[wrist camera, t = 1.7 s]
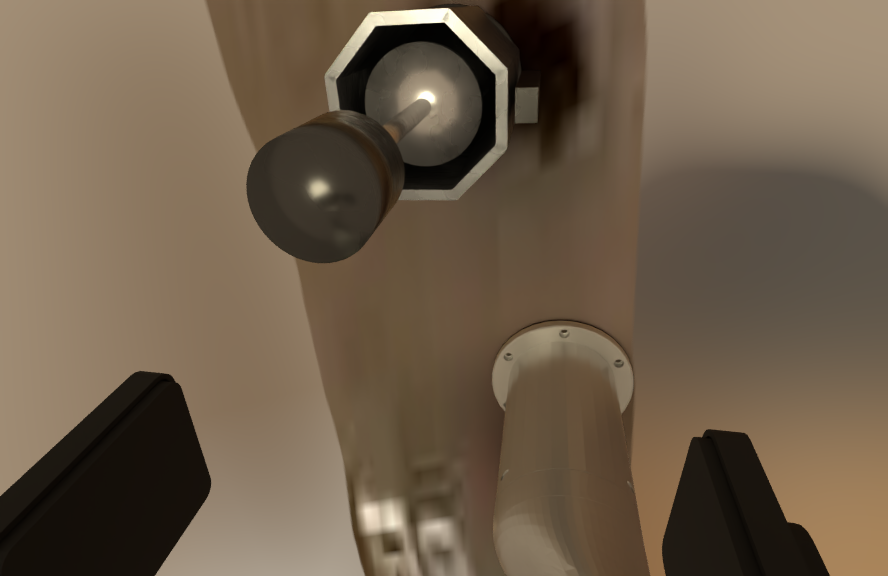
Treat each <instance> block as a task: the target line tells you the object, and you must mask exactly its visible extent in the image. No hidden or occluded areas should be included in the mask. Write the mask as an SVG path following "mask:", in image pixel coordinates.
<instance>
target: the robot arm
mask: <svg viewBox="0 0 888 576" xmlns="http://www.w3.org/2000/svg"><path fill="white" fill-rule="evenodd" d="M492 387H493V391H494V395H495V397H496V399H497V401H498V403H499V405H500V406H501V408H502V409H503V410H504V411H505V417H504V427H503V436H502V445H501V454H500V463H499V473H498V482H497V491H496V500H495V509H494V519H493V539H494V545H495V549H496V553H497V556H498V559H499V562H500V564H501V566H502V568H503V570H504V572H505V574H506V576H650V572H649V567H648V562H647V557H646V553H645V548H644V543H643V537H642V531H641V526H640V520H639V514H638V508H637V502H636V496H635V490H634V485H633V479H632V473H631V467H630V461H629V456H628V450H627V444H626V438H625V432H624V427H623V421H622V415H621V414H622V413H623V412H624V411H625V409H626V408H627V406H628V404H629V402H630V400H631V397H632V393H633V390H634V377H633V372H632V367H631V364H630V362H629V359H628V356H627V355H626V353H625V352H624V350H623V349H622V347H621V346H620V345H619V344H618V343H617V342H616V341H615V340H614V339H613V338H612V337H610V336H609V335H607V334H606V333H604V332H603V331H601V330H599V329H596V328H594V327H592V326H590V325H586V324H582V323H578V322H572V321H548V322H543V323H539V324H535V325H532V326H530V327H527V328H525V329H523V330H521V331H519V332H518V333H516V334H515V335H513V336H512V337H511V338H510V339H509V340H508V341H507V342H506V343H505V344H504V345H503V346H502V348H501V349H500V351H499V352H498V354H497V356H496V359H495V362H494V365H493V371H492ZM210 488H211V478H210V475H209V472H208V469H207V466H206V463H205V459H204V456H203V453H202V450H201V447H200V444H199V441H198V438H197V435H196V432H195V429H194V426H193V422H192V419H191V416H190V413H189V410H188V407H187V404H186V401H185V398H184V395H183V392H182V389H181V386H180V385H179V384H178V383H176V382H175V381H174V379H173V377H172V376H171V375H169V374H164V373H154V372H144V371H139V372H135V373H134V374H132V375H131V376H130V377H129V378H128V379H127V380H125V382H123V383H122V384H121V385H120V386H119V387H118V388H117V389H116V390H115V391H114V392H113V393H111V394H110V395H109V396H108V397H107V398H106V399H105V400H104V401H103V402H102V403H101V404H100V405H98V407H96V408H95V409H94V410H93V411H92V412H91V413H90V414H89V415H88V416H87V417H86V418H84V419H83V421H81V422H80V423H79V424H78V425H77V426H76V427H75V428H74V429H73V430H71V431H70V432H69V433H68V434H67V435H66V436H65V437H64V438H63V439H62V440H61V441H60V442H59V443H57V444H56V445H55V446H54V447H53V448H52V449H51V450H50V451H49V452H48V453H47V454H46V455H45V456H43V457H42V458H41V459H40V460H39V461H38V462H37V463H36V464H35V465H34V466H33V467H31V469H29V470H28V471H27V472H26V473H25V474H24V475H23V476H22V477H21V478H20V479H19V480H17V482H15V483H14V484H13V485H12V486H11V487H10V488H9V489H8V490H7V491H6V492H4V493H3V494H2V495H1V496H0V576H155V575H156V573H157V571H158V570H159V569H160V567H161V566H162V564H163V562H164V561H165V560H166V558H167V557H168V555H169V554H170V552H171V551H172V549H173V548H174V546H175V545H176V543H177V542H178V540H179V539H180V537H181V536H182V534H183V533H184V531H185V530H186V528H187V527H188V525H189V524H190V522H191V521H192V519H193V518H194V516H195V515H196V513H197V512H198V510H199V509H200V508H201V506H202V504H203V503H204V502H205V500H206V498H207V497H208V494H209V492H210ZM662 556H663V563H664V569H665V574H666V576H830V575H829V573H828V571H827V569H826V566H825V564H824V563H823V560H822V558H821V556H820V554H819V552H818V550H817V548H816V546H815V544H814V542H813V540H812V538H811V537H810V535H809V533H808V532H807V531H806V530H805V529H804V528H803V527H802V526H801V525H799V524H795V523H789V522H787V521H786V519H785V516H784V514H783V512H782V510H781V507H780V505H779V503H778V501H777V498H776V496H775V494H774V492H773V490H772V487H771V485H770V483H769V480H768V478H767V476H766V474H765V472H764V469H763V467H762V465H761V463H760V460H759V458H758V457H757V454H756V452H755V449H754V447H753V445H752V442H751V440H750V439H749V437H748V435H746V434H745V433H740V432H730V431H720V430H711V429H708V430H706V431H705V432H704V434H703V437H702V438H701V437H693V438H692V440H691V443H690V446H689V450H688V454H687V457H686V461H685V464H684V468H683V471H682V475H681V478H680V482H679V485H678V489H677V493H676V496H675V499H674V503H673V507H672V510H671V514H670V517H669V521H668V524H667V528H666V531H665V535H664V538H663V545H662Z"/></svg>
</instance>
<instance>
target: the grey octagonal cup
mask: <svg viewBox="0 0 888 576" xmlns="http://www.w3.org/2000/svg"><path fill="white" fill-rule="evenodd" d="M418 41H429V42H435V43H438V44H441V45H444V46H446V47H448V48H450V49H452V50H454V51H455V52H457V53H458V54H459V55H460V56H461V57H462V58H464V59H465V61H466V62H467V63H468V64H469V65H470V67H471V68H472V70H473V71H474V73H475V75H476V77H477V79H478V82H479V84H480V87H481V92H482V98H483V113H482V118H481V122H480V126H479V128H478V131H477V133H476V135H475V137H474V138H473V140H472V142H471V143H470V144H469V146H468V147H467V148H466V149H465V150H464V151H463V152H462V153H461V154H460V155H458V156H457V157H456V158H454V159H452V160H450V161H448V162H446V163H443V164H440V165H435V166H417V165H412V164H409V163H406V162H403V163H404V172H405V177H404V185H403V189H402V192H401V194H400V197H399V199H398V200H458V199H459V198H460V197H461V196H462V195H463V194H464V193H465V192H466V191H467V190H468V189H469V188H470V187H471V186H472V185H473V184H474V183H475V182H476V181H477V180H478V179H479V178H480V177H481V176H482V175H483V174H484V173H485V172H486V171H487V170H488V169H489V168H490V167H491V166H492V165H493V164H494V163H495V162H496V161H497V160H498V159H499V157H500V156H501V155H502V154H503V153H504V152H505V151H506V150H507V148H508V145H509V141H510V138H511V134H512V131H513V127H514V124H515V123H537V120H538V111H539V101H540V74H541V70H524V71H522V68H521V62H520V58H519V57H520V50H519V48H518V47H517V46H516V45H515V44H514V42H513V40H512V39H511V37H510V35H509V34H508V32H507V31H506V30H505V29H504V27H503V26H502V25H501V24H500V23H499V22H498V21H497V20H496V19H494V18H493V17H492V16H490V15H489V14H487V13H486V12H484V11H483V10H482V9H481V8H480V7H479V6H468V5H462V4H444V5H438V6H434V7H431V8H427V9H412V10H398V11H384V12H370V13H369V14H368V15H367V17H366V18H365V20H364V21H363V22H362V24H361V25H360V27H359V28H358V29H357V31H356V32H355V33H354V35H353V36H352V38H351V39H350V40H349V42H348V43H347V45H346V46H345V47H344V49H343V50H342V52H341V53H340V54H339V56H338V57H337V59H336V60H335V61H334V63H333V64H332V66H331V67H330V68H329V70H328V71H327V72H326V74H325V76H324V77H325V84H326V90H327V97H328V104H329V111H330V112H331V111H338V110H349V111H354V112H358V113H361V114H364V115H366V110H365V92H366V87H367V83H368V80H369V77H370V75H371V73H372V71H373V69H374V68H375V66H376V65H377V63H378V62H379V61H380V60H381V59H382V58H383V57H384V56H385V55H386V54H387V53H388V52H390V51H392V50H393V49H395V48H397V47H399V46H401V45H404V44H408V43H411V42H418Z"/></svg>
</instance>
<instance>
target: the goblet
mask: <svg viewBox="0 0 888 576" xmlns="http://www.w3.org/2000/svg"><path fill="white" fill-rule="evenodd" d="M365 110H366V115H364V114H361V113H358V112H354V111H349V110H338V111H331V112H327V113H325V114H322V115H320V116H318V117H316V118H314V119H312V120H310V121H308V122H306V123H304V124H302V125H300V126H298V127H296V128H294V129H292V130H290V131H288V132H286V133H284V134H282V135H280V136H278V137H276V138H274V139H273V140H271V141H269V142H268V143H266V144H265V145H264V146H263V147H262V148H261V149H260V150H259V151H258V153H257V154H256V155H255V157H254V159H253V160H252V162H251V165H250V168H249V171H248V176H247V184H246V185H247V197H248V202H249V206H250V209H251V212H252V214H253V216H254V218H255V220H256V222H257V223H258V225H259V227H260V228H261V230H262V231H263V233H264V234H265V235H266V236H267V237H268V238H269V239H270V240H271V241H272V242H273V243H274V244H275V245H276V246H278V247H279V248H280V249H282V250H283V251H285V252H286V253H288V254H290V255H292V256H294V257H296V258H299V259H302V260H305V261H309V262H314V263H332V262H337V261H340V260H344V259H346V258H348V257H350V256H352V255H353V254H355V253H356V252H357V251H359V250H360V249H361V248H362V247H363V246H364V244H365V243H366V242H367V241H368V239H369V238H370V237H371V235H372V234H373V233H374V231H375V230H376V229H377V227H378V226H379V225H380V223H381V222H382V221H383V219H384V218H385V217H386V215H387V214H388V213H389V211H390V210H391V209H392V207H393V206H394V205H395V204H396V202H397V200H398V199H399V197H400V194H401V192H402V189H403V185H404V177H405V172H404V163H403V162H406V163H409V164H412V165H417V166H435V165H440V164H443V163H446V162H448V161H450V160H452V159H454V158H456V157H457V156H458V155H460V154H461V153H462V152H463V151H464V150H465V149H466V148H467V147H468V146H469V144H470V143H471V142H472V140H473V138H474V137H475V135H476V133H477V131H478V128H479V126H480V122H481V118H482V113H483V98H482V92H481V87H480V84H479V82H478V79H477V77H476V75H475V73H474V71H473V70H472V68H471V67H470V65H469V64H468V63H467V62H466V61H465V59H464V58H462V57H461V56H460V55H459V54H458V53H457V52H455V51H454V50H452V49H450V48H448V47H446V46H444V45H441V44H438V43H435V42H429V41H418V42H411V43H408V44H404V45H401V46H399V47H397V48H395V49H393V50H392V51H390V52H388V53H387V54H386V55H385V56H384V57H383V58H382V59H381V60H380V61H379V62H378V63H377V65H376V66H375V68H374V69H373V71H372V73H371V75H370V77H369V80H368V83H367V87H366V92H365Z"/></svg>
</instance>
